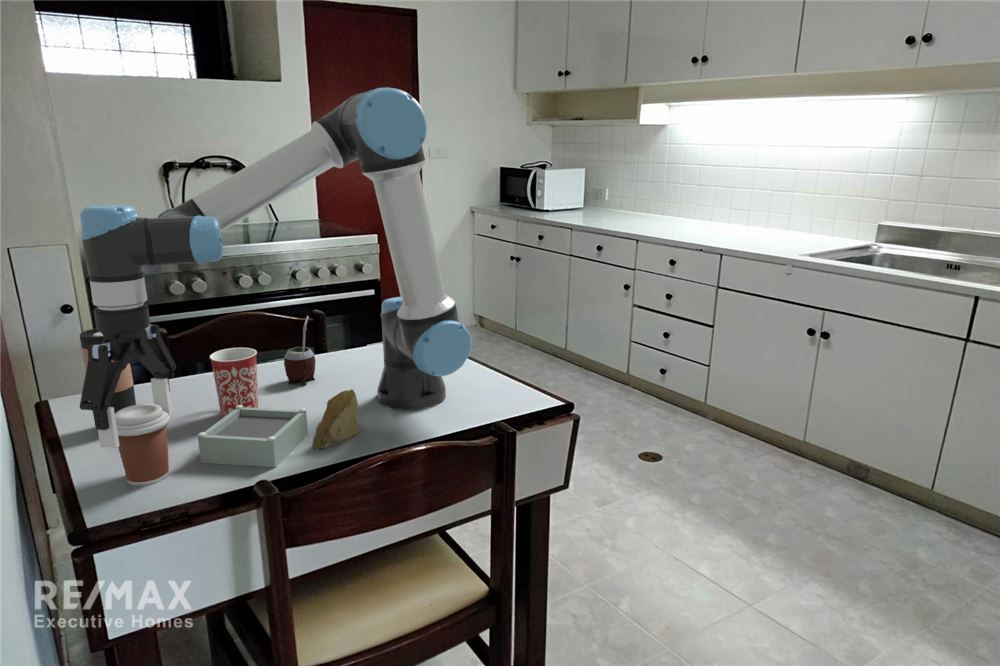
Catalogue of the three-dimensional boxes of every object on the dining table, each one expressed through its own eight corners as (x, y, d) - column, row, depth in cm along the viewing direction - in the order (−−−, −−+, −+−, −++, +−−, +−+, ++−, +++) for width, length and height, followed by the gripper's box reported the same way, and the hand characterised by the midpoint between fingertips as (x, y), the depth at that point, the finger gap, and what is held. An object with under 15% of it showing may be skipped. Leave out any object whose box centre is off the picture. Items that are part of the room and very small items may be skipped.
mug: (264, 419, 136) (258, 357, 132) (217, 426, 133) (209, 362, 129) (260, 398, 147) (254, 341, 144) (216, 404, 144) (209, 345, 140)
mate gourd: (290, 388, 153) (284, 326, 149) (282, 379, 160) (276, 319, 156) (322, 383, 157) (317, 322, 153) (313, 374, 163) (308, 315, 159)
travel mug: (95, 438, 127) (76, 339, 122) (97, 424, 133) (80, 329, 128) (139, 431, 130) (124, 333, 125) (140, 417, 137) (125, 324, 131)
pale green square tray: (308, 434, 129) (306, 408, 127) (275, 467, 115) (273, 439, 114) (240, 430, 131) (237, 404, 129) (200, 462, 117) (196, 434, 116)
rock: (316, 446, 119) (369, 428, 123) (301, 402, 121) (353, 386, 125) (312, 459, 128) (361, 441, 132) (298, 418, 130) (347, 402, 134)
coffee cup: (186, 463, 117) (178, 400, 114) (163, 489, 108) (152, 421, 105) (134, 464, 117) (124, 401, 113) (106, 490, 108) (94, 422, 105)
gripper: (149, 288, 117) (163, 400, 122) (35, 323, 93) (60, 460, 98) (188, 290, 116) (201, 403, 121) (84, 325, 92) (106, 464, 97)
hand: (138, 429), depth 110 cm, fingers open, 13 cm apart
